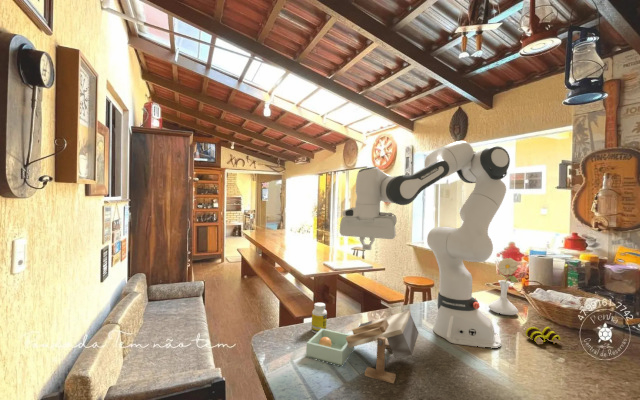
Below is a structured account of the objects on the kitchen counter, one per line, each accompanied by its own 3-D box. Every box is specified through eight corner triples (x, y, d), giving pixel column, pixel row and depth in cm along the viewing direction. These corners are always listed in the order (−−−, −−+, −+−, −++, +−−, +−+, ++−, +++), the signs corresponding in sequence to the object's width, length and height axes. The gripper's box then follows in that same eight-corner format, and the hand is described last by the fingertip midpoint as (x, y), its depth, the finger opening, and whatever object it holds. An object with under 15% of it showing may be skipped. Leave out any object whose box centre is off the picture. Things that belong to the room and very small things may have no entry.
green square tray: (354, 349, 103) (354, 335, 103) (341, 366, 92) (342, 351, 92) (321, 341, 108) (321, 328, 108) (306, 357, 97) (306, 342, 97)
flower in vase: (482, 307, 146) (485, 253, 145) (506, 307, 147) (508, 254, 146) (502, 319, 133) (505, 260, 132) (527, 319, 134) (530, 260, 133)
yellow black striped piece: (534, 347, 111) (537, 334, 110) (523, 337, 116) (526, 325, 115) (560, 346, 112) (563, 334, 111) (548, 337, 117) (551, 325, 116)
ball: (329, 332, 102) (319, 338, 104) (324, 337, 99) (314, 343, 100) (335, 344, 101) (326, 349, 103) (331, 349, 98) (321, 354, 99)
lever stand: (406, 347, 105) (407, 314, 105) (393, 383, 85) (395, 343, 85) (382, 342, 109) (383, 310, 108) (364, 375, 88) (365, 336, 88)
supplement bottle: (324, 334, 113) (325, 307, 113) (309, 333, 114) (310, 306, 114) (327, 328, 118) (328, 302, 118) (313, 326, 119) (314, 301, 119)
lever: (418, 332, 101) (407, 305, 102) (411, 355, 86) (398, 323, 87) (370, 344, 107) (360, 319, 108) (356, 368, 92) (345, 338, 94)
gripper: (398, 212, 114) (397, 250, 114) (343, 210, 122) (343, 246, 122) (395, 213, 108) (394, 253, 109) (338, 211, 116) (338, 248, 117)
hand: (366, 249), depth 116 cm, fingers closed
